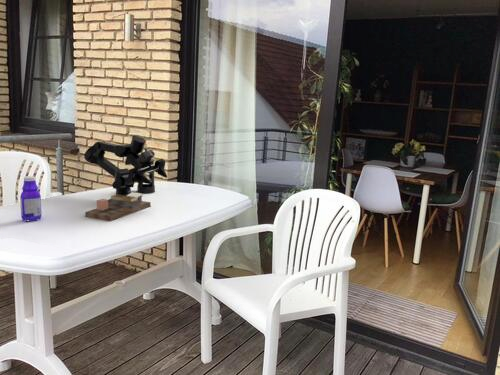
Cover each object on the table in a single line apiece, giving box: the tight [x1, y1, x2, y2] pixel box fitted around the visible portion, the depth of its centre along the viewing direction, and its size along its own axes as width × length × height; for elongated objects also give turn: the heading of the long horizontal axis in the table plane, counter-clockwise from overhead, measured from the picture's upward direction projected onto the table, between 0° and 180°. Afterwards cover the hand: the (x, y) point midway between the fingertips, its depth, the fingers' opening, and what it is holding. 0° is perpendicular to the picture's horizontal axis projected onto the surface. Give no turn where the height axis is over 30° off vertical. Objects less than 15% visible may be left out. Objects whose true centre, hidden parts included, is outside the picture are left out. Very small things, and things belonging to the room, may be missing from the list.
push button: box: [110, 193, 137, 203], centre depth 201 cm, size 11×4×2 cm, turn 68°
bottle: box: [19, 175, 42, 221], centre depth 179 cm, size 7×6×17 cm
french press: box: [136, 147, 156, 195], centre depth 237 cm, size 12×9×23 cm
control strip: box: [84, 194, 152, 222], centre depth 198 cm, size 13×28×5 cm, turn 158°
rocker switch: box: [127, 191, 144, 200], centre depth 207 cm, size 6×6×1 cm
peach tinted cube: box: [96, 198, 108, 210], centre depth 192 cm, size 3×4×4 cm
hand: (158, 179), depth 201 cm, fingers open, 9 cm apart
